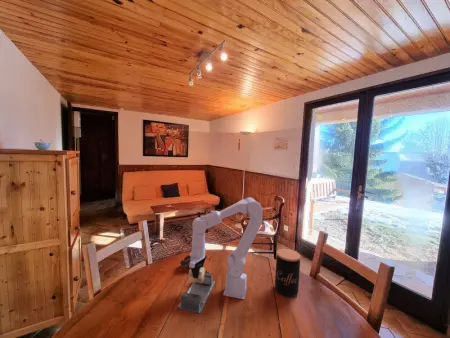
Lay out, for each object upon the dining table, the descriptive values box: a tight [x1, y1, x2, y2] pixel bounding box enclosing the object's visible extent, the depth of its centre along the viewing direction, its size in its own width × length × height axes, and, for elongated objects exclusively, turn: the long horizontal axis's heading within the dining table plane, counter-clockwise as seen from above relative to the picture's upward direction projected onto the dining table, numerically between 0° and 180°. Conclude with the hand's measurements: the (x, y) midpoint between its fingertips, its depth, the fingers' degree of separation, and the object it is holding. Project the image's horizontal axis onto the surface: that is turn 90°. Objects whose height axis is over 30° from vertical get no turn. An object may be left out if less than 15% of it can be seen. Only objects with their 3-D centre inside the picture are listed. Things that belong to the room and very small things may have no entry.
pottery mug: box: [180, 254, 191, 270], centre depth 110 cm, size 12×10×8 cm
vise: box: [177, 280, 216, 315], centre depth 89 cm, size 10×20×5 cm, turn 167°
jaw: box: [202, 270, 213, 285], centre depth 98 cm, size 8×7×4 cm
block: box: [188, 266, 206, 283], centre depth 89 cm, size 6×4×5 cm, turn 76°
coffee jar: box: [274, 248, 301, 298], centre depth 94 cm, size 11×11×18 cm
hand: (197, 274), depth 89 cm, fingers closed on block, 4 cm apart
